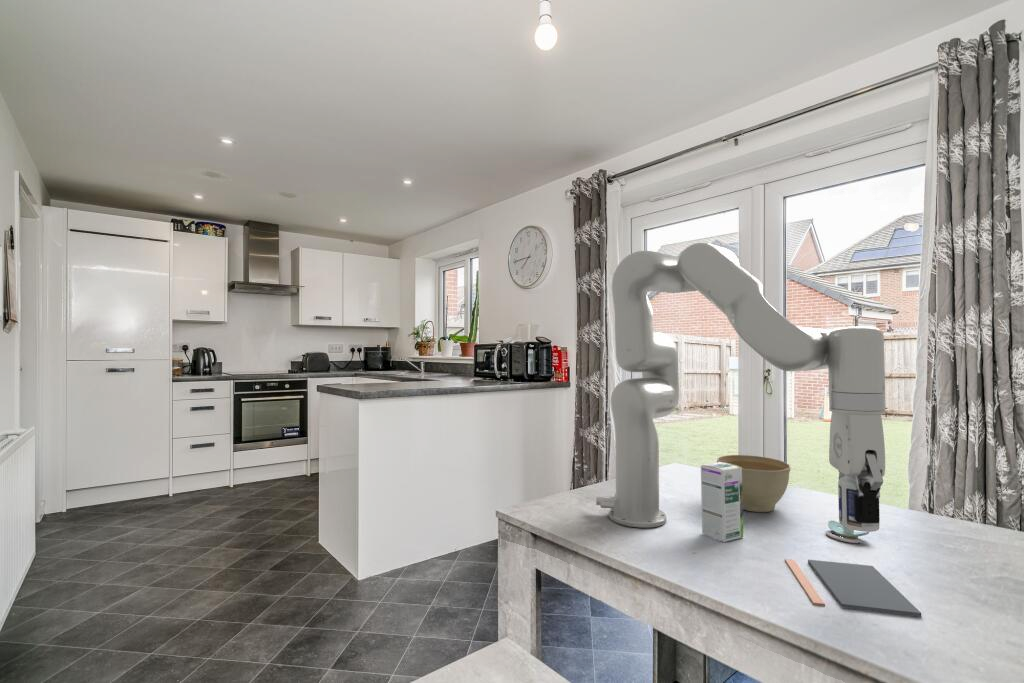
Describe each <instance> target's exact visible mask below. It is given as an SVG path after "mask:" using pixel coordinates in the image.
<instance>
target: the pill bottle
mask: <svg viewBox="0 0 1024 683" xmlns="http://www.w3.org/2000/svg"><path fill="white" fill-rule="evenodd" d="M860 476H869V474H868V473H867V472H861V473H860ZM865 482H868V481H867V480H862V487H863V485H864V483H865ZM837 485H838V487H837V488H838V489H837V490H838V522H839V523H840V524H841V525H842V526H844V527H846V528H849V529H852V530H854V531H856V532H869V533H870V532H872V533H873V532H876V531H879V530H880V522H879V523H865V522H857V521H856V520H855V518H854V495H857V492H856V485H855V478H854V477H849V476H847V475H845V476H844V477H841V478H840V479H839V478H838V482H837Z"/></svg>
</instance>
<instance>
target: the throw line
mask: <svg viewBox="0 0 1024 683" xmlns="http://www.w3.org/2000/svg"><path fill="white" fill-rule="evenodd" d="M784 562H785V563H786V562H787V563H786V564H787V566H788V568H789V567H790V568H789V569H790V570H792V571H791V572H792V574H793V576H794V577H795V576H796V577H795V578H796V580H797V581H798V583H799V584H800V586H801V588H802V589H803V591H804V592H805V594H806V596H807V597H808V599H809V600H810V601H811V604H813V606H821V607H822V606H823V607H825V605H826V604H825V602H824V601H823V599H822V597H821V596H820V595H819V593H818V592H817V591H816V589H815V588H814V586H813V585H812V583H811V582H810V580H809V579H808V577H807V576H806V575H805V573H804V572H803V570H802V569H801V568H800V566H799V564H798V563H797V561H795V559H789V558H784Z"/></svg>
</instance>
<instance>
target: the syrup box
mask: <svg viewBox="0 0 1024 683" xmlns="http://www.w3.org/2000/svg"><path fill="white" fill-rule="evenodd" d="M700 492H701V493H700V495H701V496H700V497H701V533H702V534H703V535H704V536H705V535H706V536H707V537H709V536H710V538H712V537H713V538H712V539H714V538H715V539H714V540H717V539H718V540H717V541H719V540H720V542H722V541H723V542H722V543H727V542H729V541H733V540H738V539H742V538H743V537H744V510H743V497H742V468H741V467H740V466H737V465H734V464H729V463H723V462H718V463H717V462H714V463H708V464H701V465H700Z"/></svg>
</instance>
